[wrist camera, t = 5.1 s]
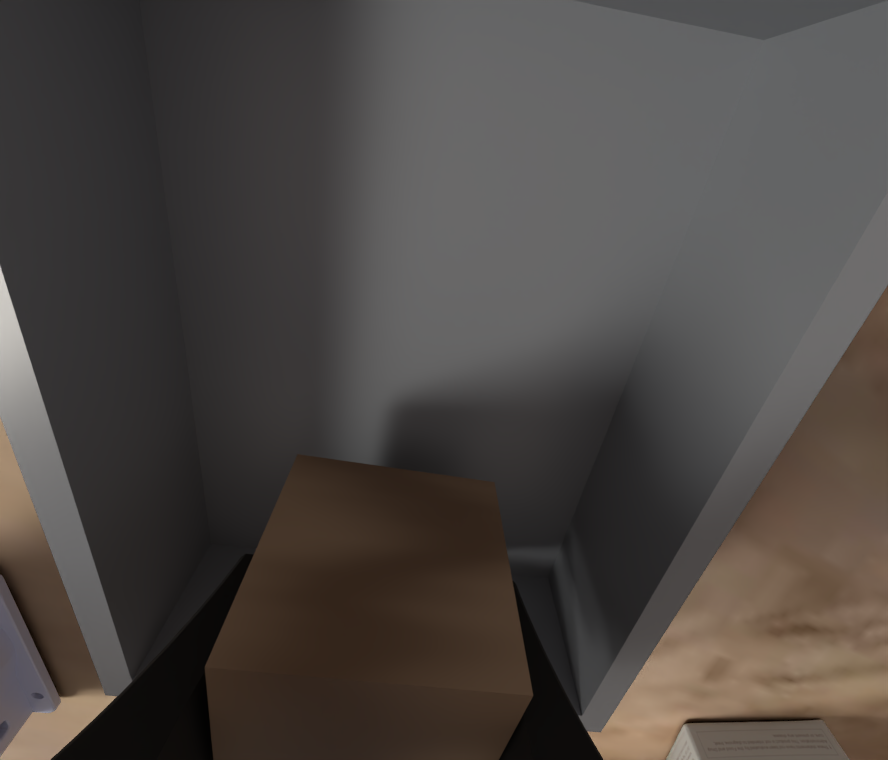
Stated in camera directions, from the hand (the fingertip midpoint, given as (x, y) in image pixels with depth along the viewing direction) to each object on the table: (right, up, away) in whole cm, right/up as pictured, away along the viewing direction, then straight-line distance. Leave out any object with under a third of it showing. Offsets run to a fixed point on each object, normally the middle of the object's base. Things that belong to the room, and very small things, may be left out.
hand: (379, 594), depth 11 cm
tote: (+1, +6, +2) cm, 6 cm away
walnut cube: (0, +1, +2) cm, 2 cm away
